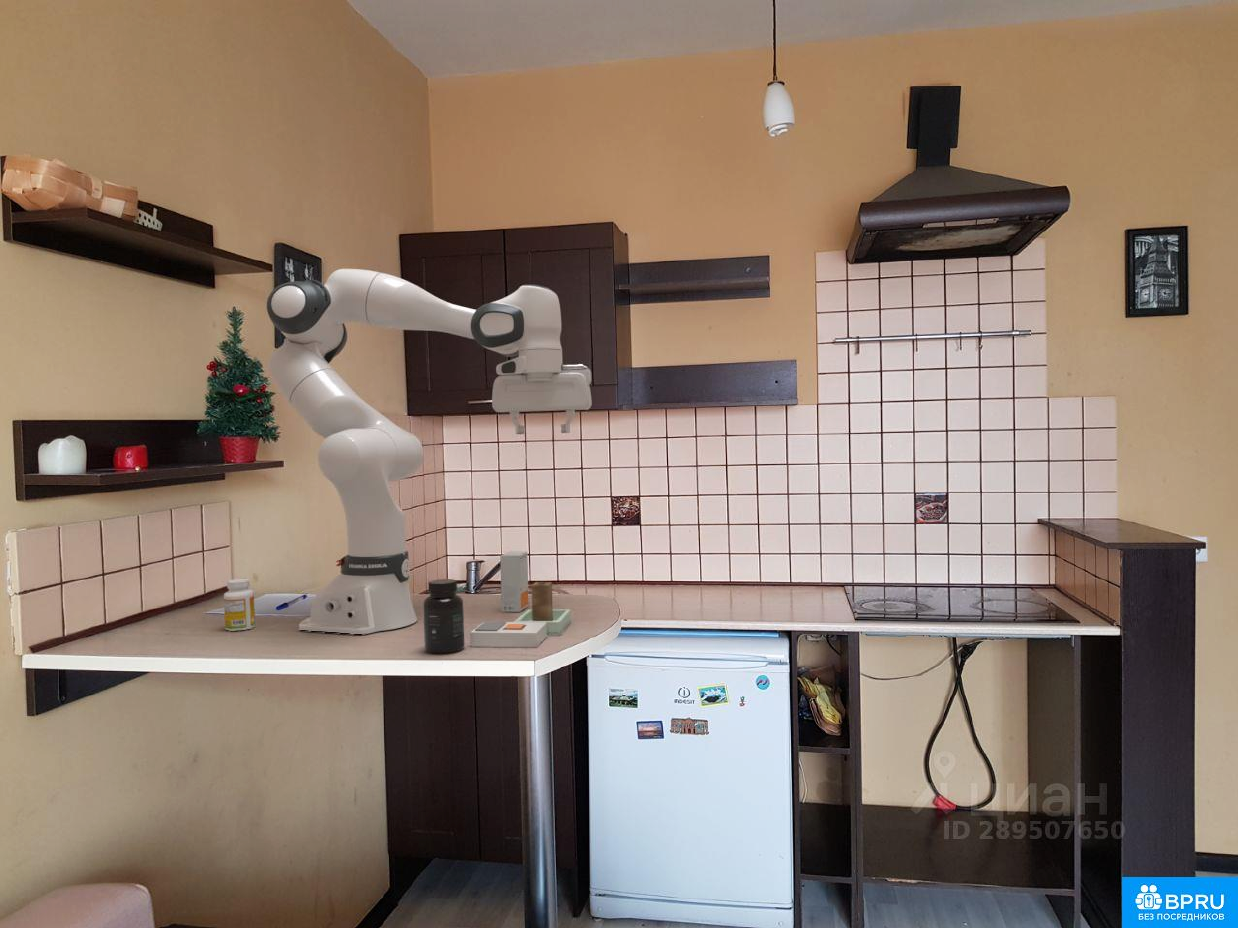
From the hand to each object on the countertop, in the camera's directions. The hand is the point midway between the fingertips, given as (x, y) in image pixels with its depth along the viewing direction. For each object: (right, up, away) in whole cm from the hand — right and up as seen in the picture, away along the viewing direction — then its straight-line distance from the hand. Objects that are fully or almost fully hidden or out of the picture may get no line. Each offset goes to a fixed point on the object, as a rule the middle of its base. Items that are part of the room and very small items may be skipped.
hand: (542, 433), depth 168 cm
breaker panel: (-4, -38, -20) cm, 43 cm away
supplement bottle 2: (-15, -39, -24) cm, 48 cm away
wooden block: (+1, -37, -11) cm, 39 cm away
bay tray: (+1, -38, -11) cm, 39 cm away
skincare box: (-6, -37, +7) cm, 38 cm away
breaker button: (-3, -38, -20) cm, 43 cm away
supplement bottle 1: (-60, -39, -5) cm, 71 cm away
